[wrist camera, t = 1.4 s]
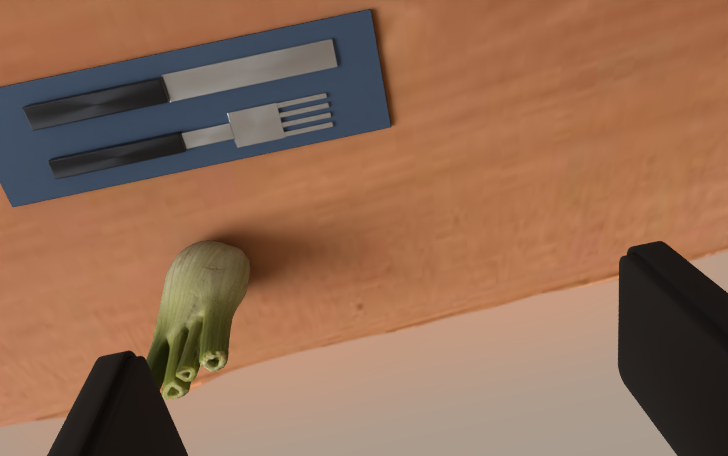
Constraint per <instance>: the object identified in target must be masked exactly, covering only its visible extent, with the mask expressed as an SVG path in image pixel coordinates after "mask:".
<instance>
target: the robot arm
mask: <svg viewBox="0 0 728 456" xmlns="http://www.w3.org/2000/svg"><path fill="white" fill-rule="evenodd" d="M618 328H619V329H618V330H619V331H618V368H619V372H620V376H621V378H622V380H623V382H624V384H625V385H626V387H627V388H628V389H629V391H630V392H631V394H632V395H633V396H634V397H635V399H636V400H637V402H638V403H639V404H640V406H641V407H642V408H643V410H644V411H645V412H646V414H647V415H648V416H649V418H650V419H651V421H652V422H653V423H654V425H655V426H656V427H657V429H658V430H659V431H660V433H661V434H662V435H663V437H664V438H665V439H666V441H667V442H668V443H669V444H670V446H671V448H672V449H673V450H674V451H675V453H676V454H677V455H678V456H728V293H727V292H726V291H724V290H723V289H722V288H721V287H719V286H718V285H717V284H716V283H714V282H713V281H712V280H711V279H709V278H708V277H707V276H705V275H704V274H703V273H702V272H701V271H699V270H698V269H697V268H696V267H694V266H693V265H692V264H691V263H690V262H688V261H687V260H686V259H685V258H683V257H682V256H681V255H680V254H678V253H677V252H676V251H675V250H673V249H672V248H671V247H670V246H668V245H667V244H666V243H664V242H662V241H657V242H652V243H647V244H642V245H638V246H633V247H630V248H629V249H628V252H627V255H626V256H622V257H621V259H620V262H619V327H618ZM47 456H188V454H187V452H186V449H185V447H184V445H183V443H182V440H181V438H180V436H179V434H178V431H177V429H176V427H175V425H174V422H173V420H172V418H171V415H170V413H169V411H168V409H167V406H166V404H165V402H164V399H163V397H162V395H161V393H160V390H159V388H158V386H157V384H156V381H155V379H154V377H153V374H152V372H151V370H150V368H149V365H148V363H147V361H146V359H145V358H144V357H143V356H138V357H136V355H135V354H134V353H133V352H132V351H125V352H120V353H115V354H110V355H106V356H101V357H99V358H98V359H97V361H96V362H95V364H94V366H93V368H92V370H91V372H90V374H89V376H88V378H87V380H86V382H85V384H84V385H83V387H82V389H81V391H80V393H79V395H78V397H77V399H76V401H75V403H74V405H73V407H72V409H71V411H70V412H69V414H68V416H67V418H66V420H65V422H64V424H63V426H62V428H61V430H60V432H59V434H58V436H57V438H56V439H55V442H54V443H53V445H52V447H51V449H50V451H49V453H48V455H47Z"/></svg>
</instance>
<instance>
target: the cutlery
mask: <svg viewBox="0 0 728 456" xmlns="http://www.w3.org/2000/svg"><path fill="white" fill-rule="evenodd" d="M334 67H338V66H337V61H336V56H335V51H334V46H333V41H332V39H327V40H322V41H317V42H313V43H308V44H303V45H298V46H294V47H289V48H284V49H279V50H275V51H270V52H265V53H261V54H256V55H251V56H246V57H242V58H237V59H232V60H228V61H223V62H218V63H213V64H209V65H204V66H199V67H194V68H190V69H185V70H180V71H176V72H171V73H166V74H162V75H161V76H162V77H157V78H152V79H147V80H142V81H138V82H133V83H128V84H123V85H119V86H114V87H109V88H105V89H100V90H95V91H90V92H86V93H81V94H76V95H72V96H67V97H62V98H57V99H53V100H48V101H43V102H38V103H34V104H29V105H26V106H24V107H23V108H22V109H23V112H24V114H25V116H26V118H27V120H28V122H29V125H30V127H31V129H32V131H35V130H40V129H44V128H49V127H54V126H59V125H63V124H68V123H73V122H77V121H82V120H87V119H92V118H96V117H101V116H106V115H110V114H115V113H120V112H125V111H129V110H134V109H139V108H143V107H148V106H153V105H158V104H162V103H167V102H168V101H169V100H170V102H174V101H179V100H183V99H188V98H193V97H198V96H202V95H207V94H212V93H216V92H221V91H226V90H231V89H235V88H240V87H245V86H249V85H254V84H259V83H264V82H268V81H273V80H278V79H283V78H287V77H292V76H297V75H301V74H306V73H311V72H316V71H320V70H325V69H330V68H334ZM324 98H327V95H326V92H325V93H320V94H316V95H311V96H306V97H301V98H297V99H292V100H287V101H283V102H278V103H277V102H274V103H269V104H264V105H260V106H255V107H250V108H246V109H241V110H236V111H231V112H228V113H227V115H228V118H229V121H230V122H228V123H223V124H219V125H214V126H209V127H204V128H200V129H195V130H190V131H186V132H182V133H181V131H178V132H174V133H169V134H164V135H159V136H155V137H150V138H145V139H141V140H136V141H131V142H126V143H122V144H117V145H112V146H108V147H103V148H98V149H93V150H89V151H84V152H79V153H75V154H70V155H65V156H60V157H56V158H51V159H50V160H49V161H48V164H49V166H50V168H51V171H52V173H53V175H54V177H55V179H61V178H66V177H70V176H75V175H80V174H85V173H89V172H94V171H99V170H103V169H108V168H113V167H118V166H122V165H127V164H132V163H136V162H141V161H146V160H151V159H155V158H160V157H165V156H169V155H174V154H179V153H184V152H186V150H187V149H189V148H194V147H199V146H203V145H208V144H213V143H217V142H222V141H227V140H232V139H234V138H235V141H236V145H237V148H239V147H244V146H249V145H253V144H258V143H263V142H268V141H272V140H277V139H282V138H285V137H287V136H291V135H296V134H301V133H305V132H310V131H315V130H320V129H324V128H329V127H333V123H332V121H331V122H326V123H321V124H317V125H312V126H307V127H303V128H298V129H293V130H288V131H284V129H283V127H287V126H292V125H297V124H301V123H306V122H311V121H315V120H320V119H325V118H330V117H331V114H330V112H327V113H322V114H317V115H312V116H308V117H303V118H298V119H294V120H289V121H284V122H282V121H281V118H282V117H287V116H292V115H296V114H301V113H306V112H310V111H315V110H320V109H325V108H329V105H328V102H326V103H321V104H317V105H312V106H307V107H303V108H298V109H293V110H288V111H284V112H279V110H278V108H281V107H286V106H291V105H295V104H300V103H305V102H310V101H314V100H319V99H324Z"/></svg>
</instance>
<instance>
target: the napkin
mask: <svg viewBox="0 0 728 456" xmlns="http://www.w3.org/2000/svg"><path fill="white" fill-rule="evenodd" d="M327 39H332V41H333V46H334V51H335V56H336V61H337V66H338V67H334V68H330V69H325V70H320V71H316V72H311V73H306V74H301V75H297V76H292V77H287V78H283V79H278V80H273V81H268V82H264V83H259V84H254V85H249V86H245V87H240V88H235V89H231V90H226V91H221V92H216V93H212V94H207V95H202V96H198V97H193V98H188V99H183V100H179V101H174V102H170V100H169V101H168V102H167V103H162V104H158V105H153V106H148V107H143V108H139V109H134V110H129V111H125V112H120V113H115V114H110V115H106V116H101V117H96V118H92V119H87V120H82V121H77V122H73V123H68V124H63V125H59V126H54V127H49V128H44V129H40V130H35V131H32V129H31V127H30V125H29V122H28V120H27V118H26V116H25V114H24V112H23V109H22V108H23V107H24V106H26V105H29V104H34V103H38V102H43V101H48V100H53V99H57V98H62V97H67V96H72V95H76V94H81V93H86V92H90V91H95V90H100V89H105V88H109V87H114V86H119V85H123V84H128V83H133V82H138V81H142V80H147V79H152V78H157V77H162V76H161V75H162V74H166V73H171V72H176V71H180V70H185V69H190V68H194V67H199V66H204V65H209V64H213V63H218V62H223V61H228V60H232V59H237V58H242V57H246V56H251V55H256V54H261V53H265V52H270V51H275V50H279V49H284V48H289V47H294V46H298V45H303V44H308V43H313V42H317V41H322V40H327ZM325 92H326V95H327V98H324V99H319V100H314V101H310V102H305V103H300V104H295V105H291V106H286V107H281V108H278V110H279V112H284V111H288V110H293V109H298V108H303V107H307V106H312V105H317V104H321V103H326V102H328V105H329V108H325V109H320V110H315V111H310V112H306V113H301V114H296V115H292V116H287V117H282V118H281V121H282V122H284V121H289V120H294V119H298V118H303V117H308V116H312V115H317V114H322V113H327V112H330V114H331V117H330V118H325V119H320V120H315V121H311V122H306V123H301V124H297V125H292V126H287V127H283V129H284V131H288V130H293V129H298V128H303V127H307V126H312V125H317V124H321V123H326V122H331V121H332V123H333V127H329V128H324V129H320V130H315V131H310V132H305V133H301V134H296V135H291V136H287V137H285V138H282V139H277V140H272V141H268V142H263V143H258V144H253V145H249V146H244V147H239V148H237V145H236V141H235V138H234V139H232V140H227V141H222V142H217V143H213V144H208V145H203V146H199V147H194V148H189V149H187V150H186V152H184V153H179V154H174V155H169V156H165V157H160V158H155V159H151V160H146V161H141V162H136V163H132V164H127V165H122V166H118V167H113V168H108V169H103V170H99V171H94V172H89V173H85V174H80V175H75V176H70V177H66V178H61V179H55V177H54V175H53V173H52V171H51V168H50V166H49V164H48V161H49V160H50V159H51V158H56V157H60V156H65V155H70V154H75V153H79V152H84V151H89V150H93V149H98V148H103V147H108V146H112V145H117V144H122V143H126V142H131V141H136V140H141V139H145V138H150V137H155V136H159V135H164V134H169V133H174V132H178V131H181V133H182V132H186V131H190V130H195V129H200V128H204V127H209V126H214V125H219V124H223V123H228V122H230V121H229V118H228V115H227V113H228V112H231V111H236V110H241V109H246V108H250V107H255V106H260V105H264V104H269V103H274V102H277V103H278V102H283V101H287V100H292V99H297V98H301V97H306V96H311V95H316V94H320V93H325ZM389 127H391V124H390V118H389V112H388V106H387V101H386V95H385V89H384V83H383V77H382V72H381V66H380V60H379V54H378V49H377V43H376V37H375V31H374V25H373V20H372V14H371V10H370V9H368V10H363V11H359V12H354V13H349V14H344V15H340V16H335V17H330V18H325V19H321V20H316V21H311V22H307V23H302V24H297V25H292V26H288V27H283V28H278V29H273V30H269V31H264V32H259V33H255V34H250V35H245V36H240V37H236V38H231V39H226V40H222V41H217V42H212V43H207V44H203V45H198V46H193V47H188V48H184V49H179V50H174V51H170V52H165V53H160V54H155V55H151V56H146V57H141V58H136V59H132V60H127V61H122V62H118V63H113V64H108V65H103V66H99V67H94V68H89V69H84V70H80V71H75V72H70V73H66V74H61V75H56V76H51V77H47V78H42V79H37V80H32V81H28V82H23V83H18V84H14V85H9V86H4V87H0V183H1V185H2V187H3V189H4V191H5V193H6V195H7V197H8V199H9V201H10V203H11V205H12V207H17V206H21V205H26V204H31V203H36V202H40V201H45V200H50V199H54V198H59V197H64V196H69V195H73V194H78V193H83V192H87V191H92V190H97V189H102V188H106V187H111V186H116V185H120V184H125V183H130V182H135V181H139V180H144V179H149V178H153V177H158V176H163V175H168V174H172V173H177V172H182V171H186V170H191V169H196V168H201V167H205V166H210V165H215V164H219V163H224V162H229V161H233V160H238V159H243V158H248V157H252V156H257V155H262V154H266V153H271V152H276V151H281V150H285V149H290V148H295V147H299V146H304V145H309V144H314V143H318V142H323V141H328V140H332V139H337V138H342V137H347V136H351V135H356V134H361V133H365V132H370V131H375V130H380V129H384V128H389Z"/></svg>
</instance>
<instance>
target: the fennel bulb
mask: <svg viewBox="0 0 728 456" xmlns="http://www.w3.org/2000/svg"><path fill="white" fill-rule="evenodd" d="M250 265H251V264H250V261H249V259H248V257H247V256H246V255H245V254H244V252H243V251H242V250H241V249H240V248H237V247H234V246H230V245H226V244H224V243H222V242H218V241H200V242H197V243H195V244H193V245H191V246H189V247H187V248H186V249H184V250H183V251H182V252H180V253H179V254H178V256H177V257H176V258H175V259H174V261H173V263H172V264H171V266H170V268H169V270H168V273H167V276H166V280H165V285H164V289H163V295H162V299H161V303H160V309H159V314H158V318H157V323H156V327H155V331H154V337H153V342H152V346H151V349H150V351H149V354H148V357H147V360H146V361H147V363H148V365H149V368H150V370H151V372H152V374H153V377H154V379H155V381H156V384H157V386H158V388H159V390H160V388H161V386H162V384H163V382H164V384H163V389H162V397H163V398H164V399H176V398H180V397H182V396H184V395H185V394H186V393H188V392H189V389H190V384H191V381H193V380H194V379H195V377H196V376H197V373H198V370H199V367H200V365H201V366H202V367H205V368H206V369H208V370H210V371H213V372H216V371H218V370H220V369H221V368H223V367H224V366H225V365H226V363H227V360H228V348H229V337H230V329H231V323H232V319H233V316H234V313H235V311H236V309H237V307H238V306H239V305H240V303H241V302H242V300H243V298H244V296H245V293H246V291H247V287H248V282H249V276H250Z"/></svg>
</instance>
